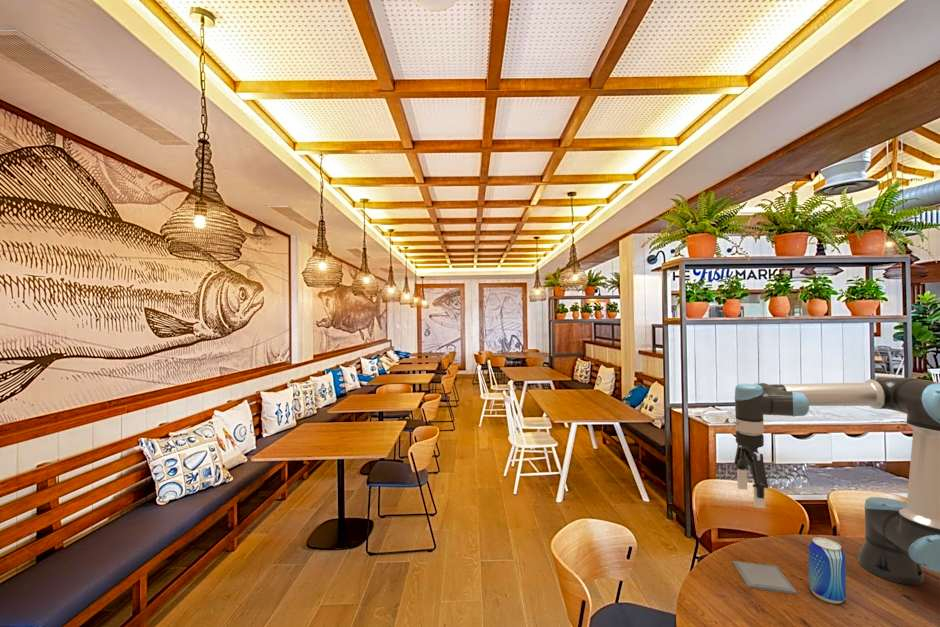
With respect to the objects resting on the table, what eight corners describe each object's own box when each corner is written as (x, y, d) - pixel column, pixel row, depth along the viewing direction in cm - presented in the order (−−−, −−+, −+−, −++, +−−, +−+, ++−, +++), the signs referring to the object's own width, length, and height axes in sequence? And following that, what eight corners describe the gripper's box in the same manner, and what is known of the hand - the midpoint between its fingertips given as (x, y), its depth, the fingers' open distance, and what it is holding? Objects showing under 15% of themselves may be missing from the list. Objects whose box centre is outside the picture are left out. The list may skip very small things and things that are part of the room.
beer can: (853, 607, 119) (852, 552, 119) (819, 603, 121) (819, 549, 121) (833, 588, 128) (833, 537, 127) (802, 585, 129) (802, 534, 129)
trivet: (776, 568, 138) (776, 565, 138) (796, 594, 125) (796, 591, 125) (732, 562, 141) (732, 560, 141) (748, 587, 128) (748, 584, 128)
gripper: (723, 421, 146) (724, 481, 146) (751, 443, 122) (752, 514, 122) (747, 422, 144) (748, 482, 144) (780, 445, 120) (782, 517, 120)
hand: (750, 497), depth 133 cm, fingers open, 13 cm apart
